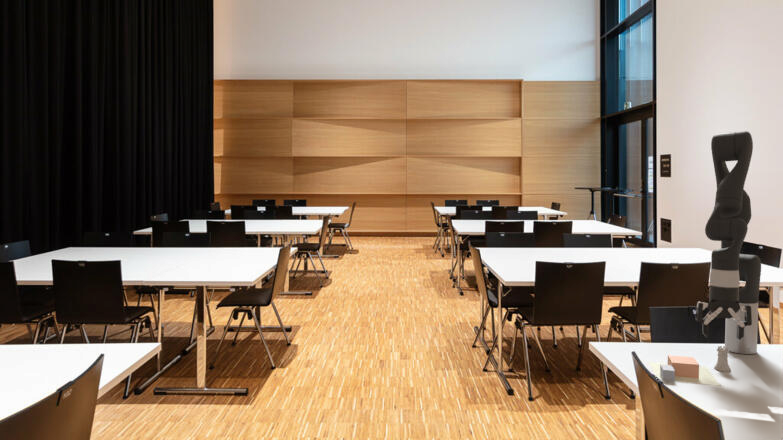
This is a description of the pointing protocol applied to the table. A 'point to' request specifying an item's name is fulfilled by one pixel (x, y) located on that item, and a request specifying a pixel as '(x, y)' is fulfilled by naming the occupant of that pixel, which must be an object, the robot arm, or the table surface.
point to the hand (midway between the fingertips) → (722, 337)
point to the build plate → (704, 377)
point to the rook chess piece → (722, 360)
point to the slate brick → (667, 372)
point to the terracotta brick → (684, 366)
